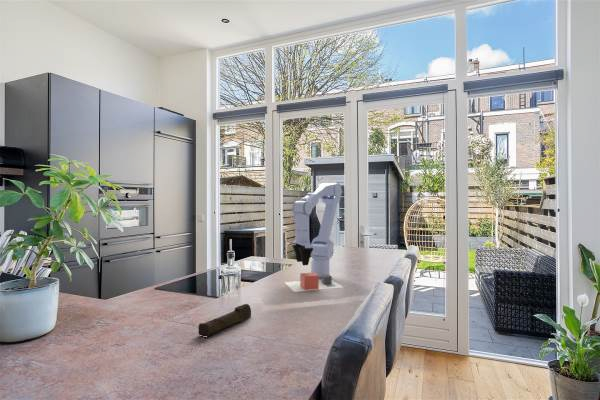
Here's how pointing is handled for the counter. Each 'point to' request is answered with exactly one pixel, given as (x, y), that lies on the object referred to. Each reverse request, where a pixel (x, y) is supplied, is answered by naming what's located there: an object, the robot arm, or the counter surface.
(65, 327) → the counter surface
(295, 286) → the breaker panel
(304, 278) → the coral red cube
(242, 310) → the hand tool
